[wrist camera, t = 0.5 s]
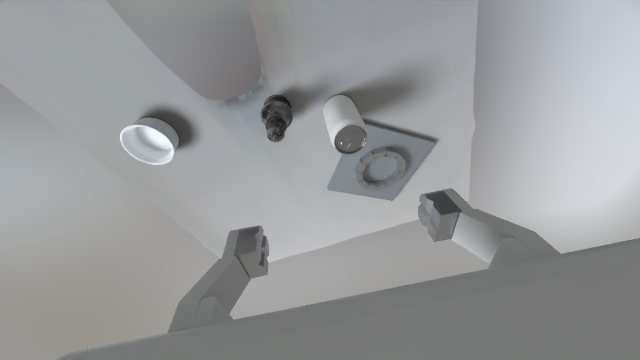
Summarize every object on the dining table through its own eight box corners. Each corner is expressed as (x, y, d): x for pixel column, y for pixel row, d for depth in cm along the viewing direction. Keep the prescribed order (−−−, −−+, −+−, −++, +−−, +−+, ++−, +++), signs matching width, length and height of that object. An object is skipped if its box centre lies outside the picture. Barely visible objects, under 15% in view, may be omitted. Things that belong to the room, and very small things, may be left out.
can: (316, 110, 46) (323, 141, 37) (340, 87, 44) (354, 114, 35) (336, 129, 50) (347, 162, 41) (360, 109, 47) (377, 139, 38)
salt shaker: (296, 117, 47) (298, 150, 38) (269, 125, 47) (265, 159, 39) (286, 89, 43) (286, 118, 34) (257, 98, 44) (249, 129, 35)
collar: (368, 142, 52) (370, 146, 50) (412, 153, 55) (415, 157, 54) (347, 181, 59) (349, 186, 57) (387, 188, 62) (389, 193, 61)
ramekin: (144, 153, 49) (134, 165, 46) (122, 114, 43) (108, 125, 40) (188, 152, 50) (181, 164, 46) (172, 113, 44) (163, 124, 41)
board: (358, 120, 49) (359, 122, 48) (433, 140, 55) (435, 142, 54) (327, 186, 61) (328, 189, 60) (391, 197, 67) (392, 200, 66)
